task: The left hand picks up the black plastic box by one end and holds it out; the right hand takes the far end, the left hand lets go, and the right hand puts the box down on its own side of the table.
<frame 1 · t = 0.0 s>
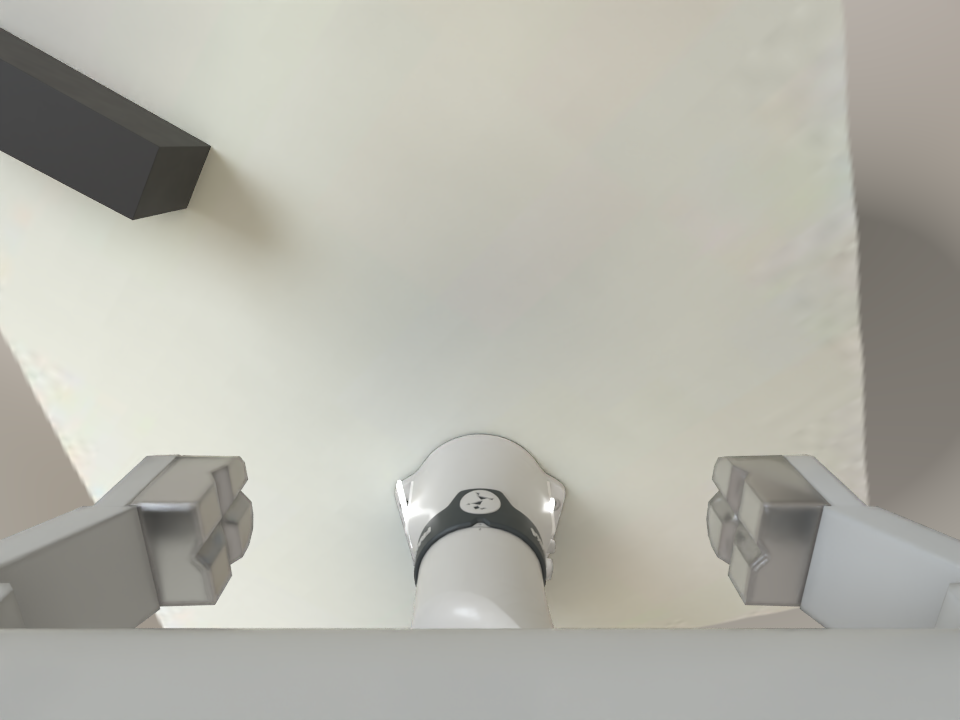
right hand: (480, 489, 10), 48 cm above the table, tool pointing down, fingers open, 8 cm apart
box: (77, 111, 52), on the table
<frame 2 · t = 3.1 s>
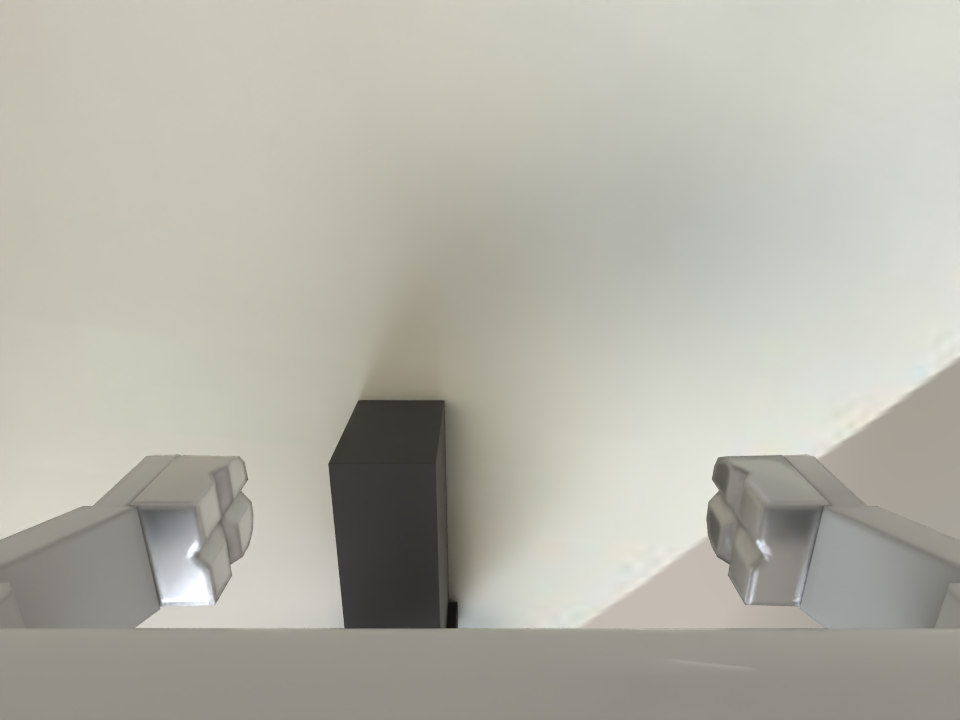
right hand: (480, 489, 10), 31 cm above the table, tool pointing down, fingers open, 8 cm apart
box: (407, 530, 47), on the table, touching left hand
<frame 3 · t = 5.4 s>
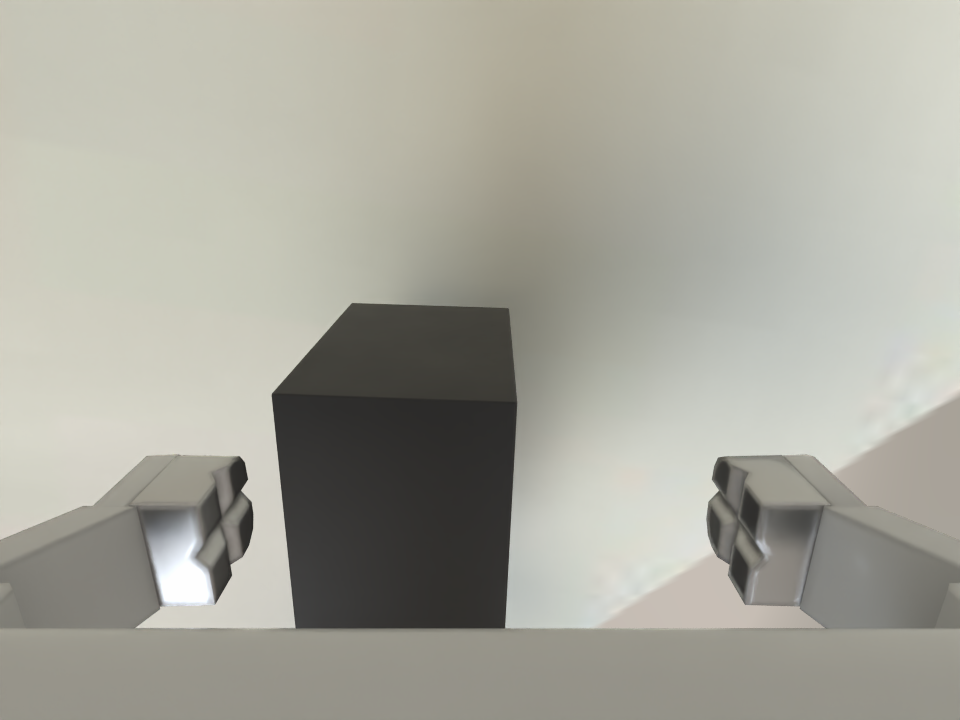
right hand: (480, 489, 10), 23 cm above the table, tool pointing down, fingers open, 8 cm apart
box: (430, 540, 28), point 9 cm above the table, touching left hand
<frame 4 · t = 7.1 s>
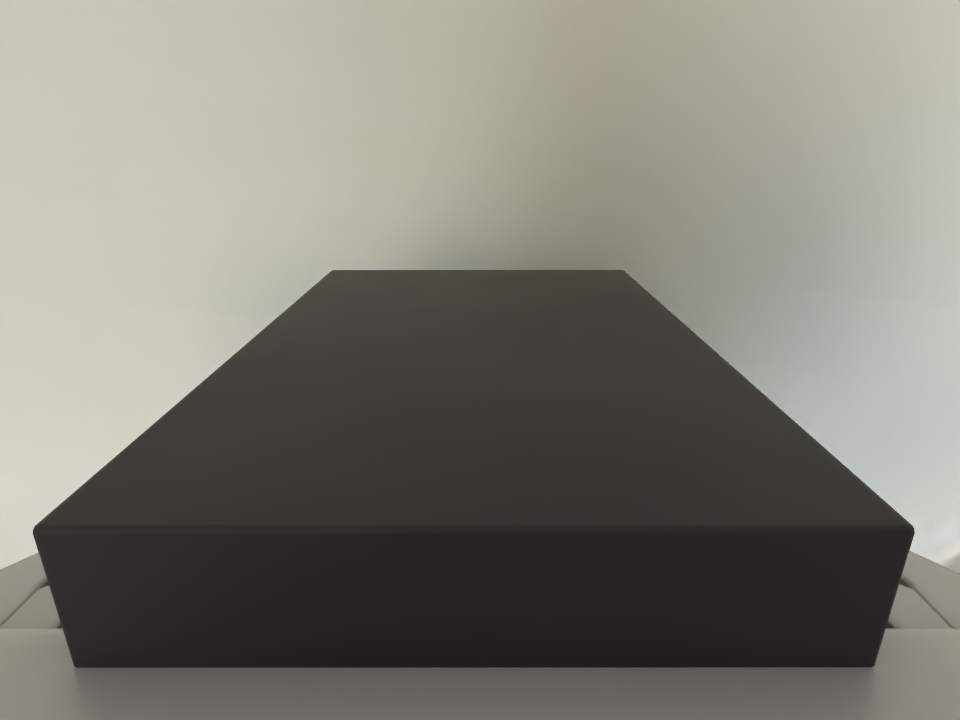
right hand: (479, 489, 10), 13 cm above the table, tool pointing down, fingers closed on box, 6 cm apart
box: (478, 667, 17), point 9 cm above the table, touching right hand, left hand
when the left hand's fingers open (9 cm above the table, at t = 8.1 s): box stays where it is, held by the right hand.
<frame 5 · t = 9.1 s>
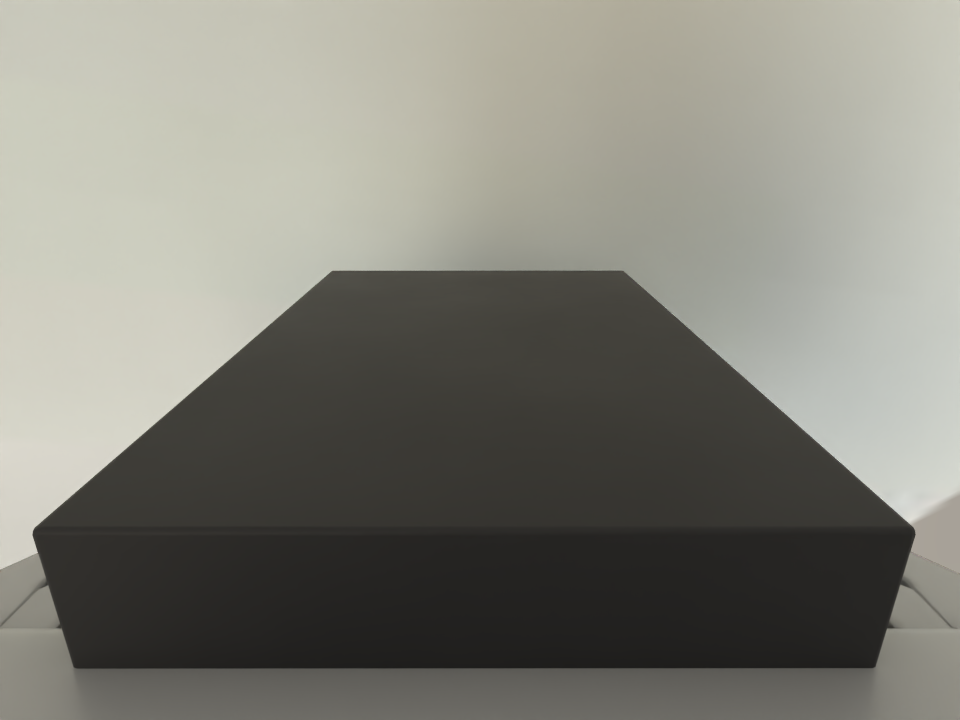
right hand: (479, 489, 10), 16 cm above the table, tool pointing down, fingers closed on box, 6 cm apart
box: (478, 668, 17), point 12 cm above the table, touching right hand
when the right hand's fingers open (5 cm above the table, at t = 13.6 s): box drops 1 cm, on the table.
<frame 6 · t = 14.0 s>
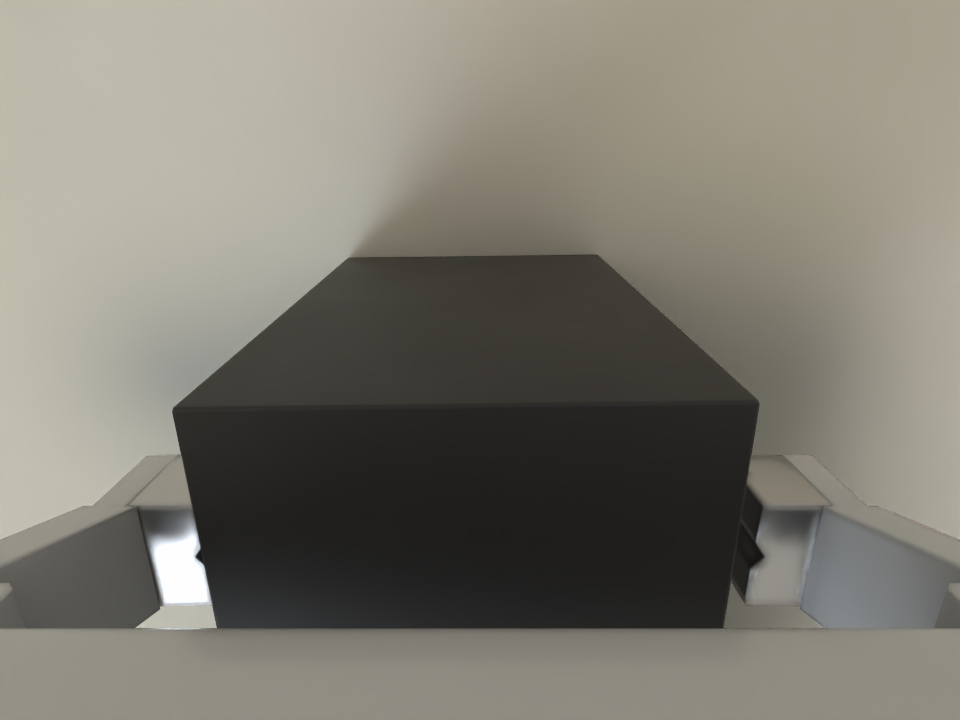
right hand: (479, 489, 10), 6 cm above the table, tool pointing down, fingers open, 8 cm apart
box: (478, 613, 19), on the table
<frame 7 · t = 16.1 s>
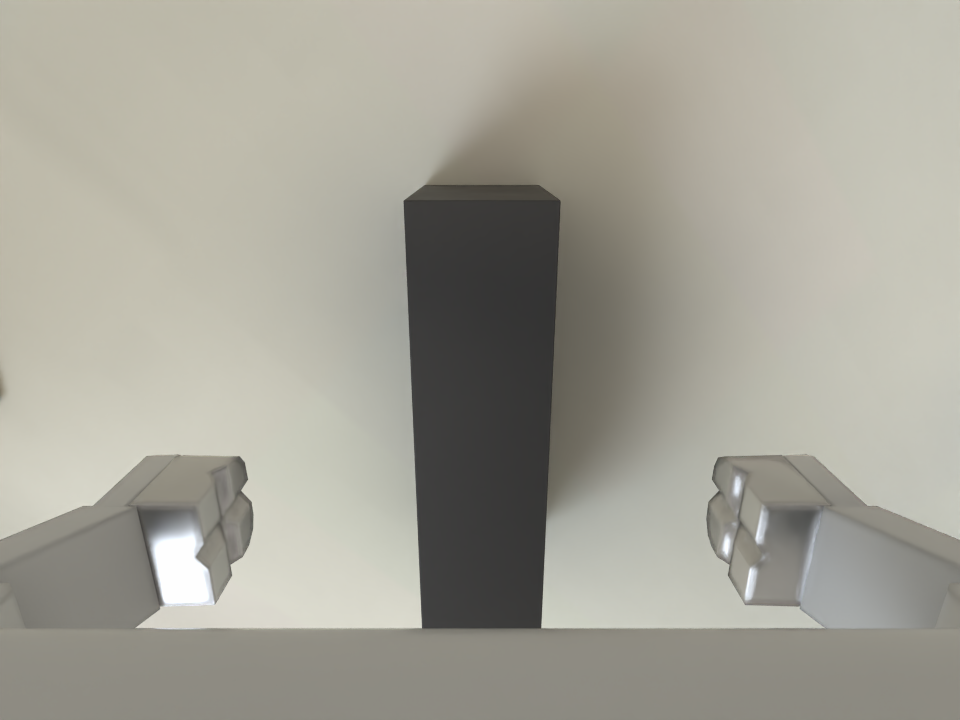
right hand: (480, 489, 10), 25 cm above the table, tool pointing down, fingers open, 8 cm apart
box: (481, 377, 36), on the table
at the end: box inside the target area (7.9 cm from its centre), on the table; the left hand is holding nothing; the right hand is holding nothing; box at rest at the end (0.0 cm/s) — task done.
